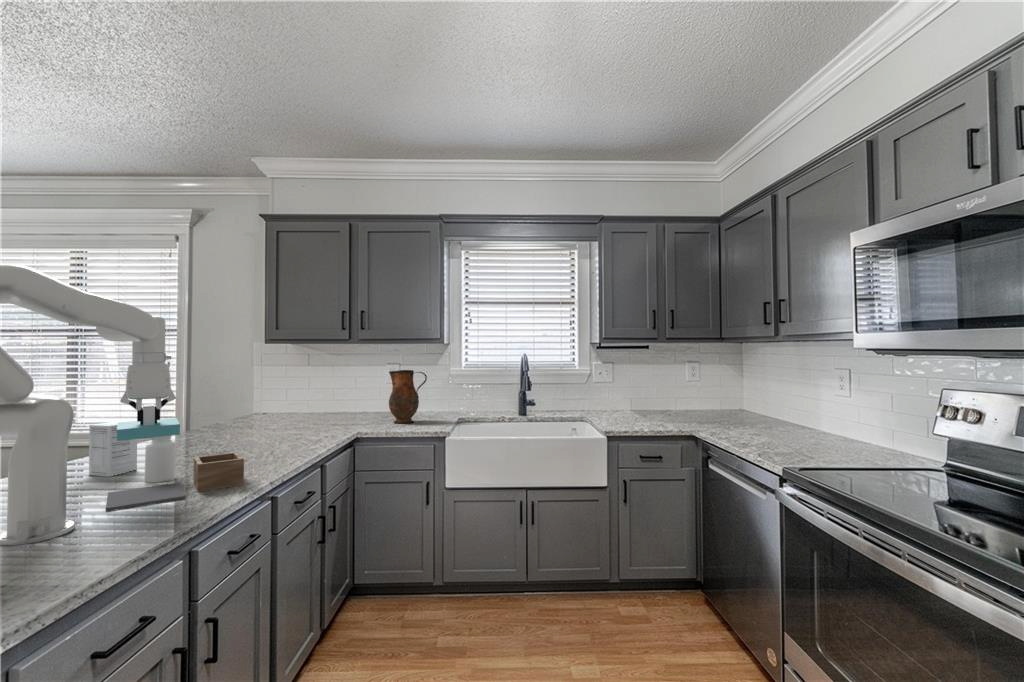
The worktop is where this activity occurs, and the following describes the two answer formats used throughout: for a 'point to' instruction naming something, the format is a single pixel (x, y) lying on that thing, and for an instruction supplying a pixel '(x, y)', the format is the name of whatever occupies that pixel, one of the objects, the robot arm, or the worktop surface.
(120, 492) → the mat
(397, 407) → the pitcher
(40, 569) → the worktop surface
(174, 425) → the lid
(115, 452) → the supplement box
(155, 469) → the pill bottle
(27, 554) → the worktop surface
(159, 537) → the worktop surface
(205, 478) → the crate
